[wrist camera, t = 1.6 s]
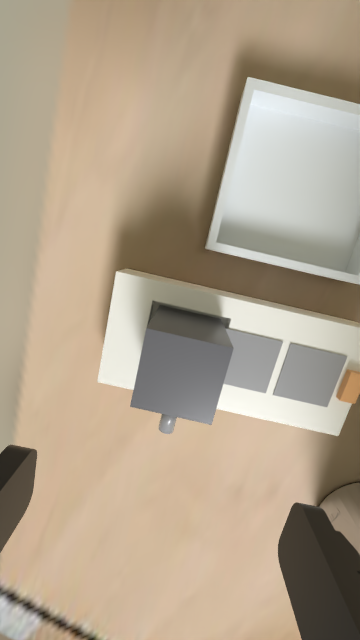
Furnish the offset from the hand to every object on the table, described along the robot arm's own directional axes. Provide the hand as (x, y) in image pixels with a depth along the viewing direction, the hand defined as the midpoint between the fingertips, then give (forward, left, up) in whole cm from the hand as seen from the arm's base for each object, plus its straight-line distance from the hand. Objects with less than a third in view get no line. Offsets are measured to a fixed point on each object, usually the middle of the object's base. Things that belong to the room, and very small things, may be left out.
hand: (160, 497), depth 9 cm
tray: (-6, -13, -17) cm, 22 cm away
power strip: (-4, 0, -17) cm, 17 cm away
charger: (0, 0, -15) cm, 15 cm away
